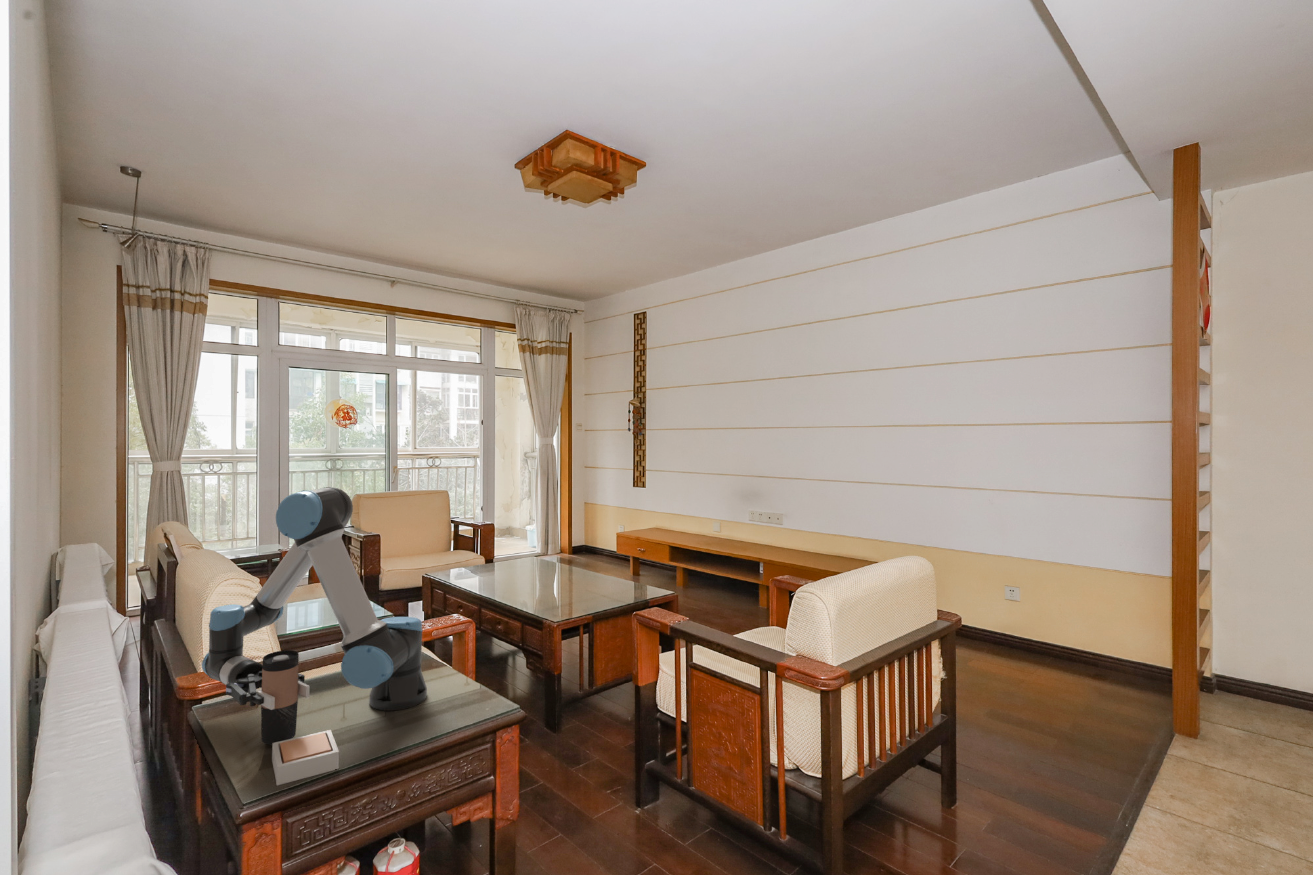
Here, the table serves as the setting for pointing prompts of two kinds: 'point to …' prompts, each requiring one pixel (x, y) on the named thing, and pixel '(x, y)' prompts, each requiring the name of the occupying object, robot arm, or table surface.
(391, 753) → the table surface
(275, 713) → the travel mug
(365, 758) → the table surface
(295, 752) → the pink flat block
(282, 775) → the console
